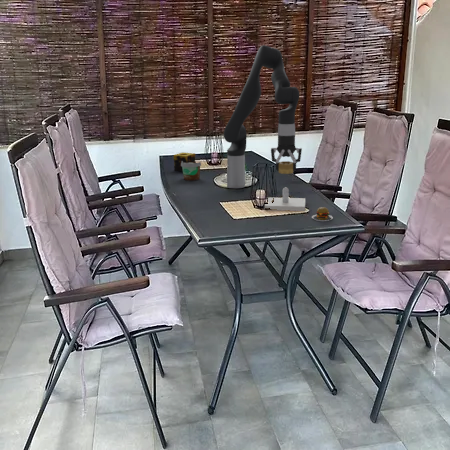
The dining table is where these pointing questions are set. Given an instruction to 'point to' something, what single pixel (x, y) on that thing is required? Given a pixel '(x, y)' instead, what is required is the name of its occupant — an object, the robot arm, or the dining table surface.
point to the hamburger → (322, 214)
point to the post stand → (286, 202)
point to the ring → (285, 167)
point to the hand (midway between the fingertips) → (286, 170)
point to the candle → (185, 158)
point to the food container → (191, 171)
